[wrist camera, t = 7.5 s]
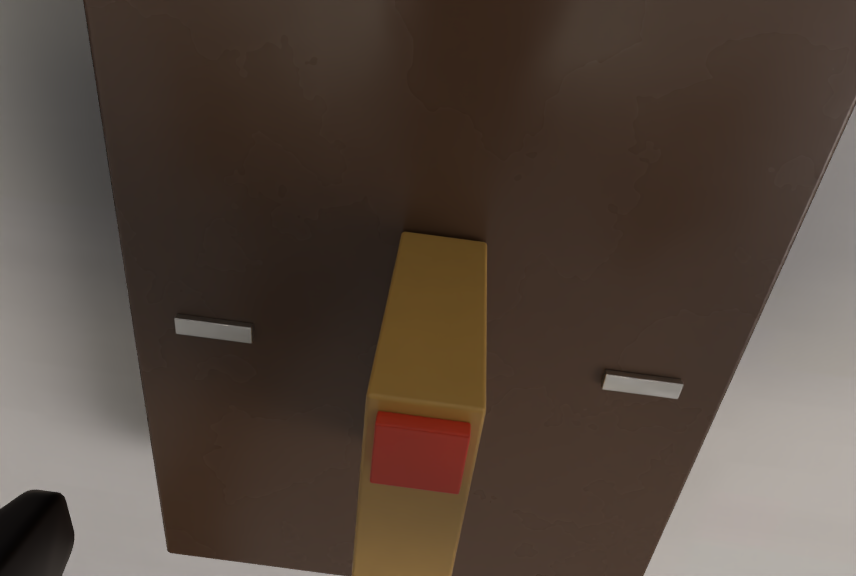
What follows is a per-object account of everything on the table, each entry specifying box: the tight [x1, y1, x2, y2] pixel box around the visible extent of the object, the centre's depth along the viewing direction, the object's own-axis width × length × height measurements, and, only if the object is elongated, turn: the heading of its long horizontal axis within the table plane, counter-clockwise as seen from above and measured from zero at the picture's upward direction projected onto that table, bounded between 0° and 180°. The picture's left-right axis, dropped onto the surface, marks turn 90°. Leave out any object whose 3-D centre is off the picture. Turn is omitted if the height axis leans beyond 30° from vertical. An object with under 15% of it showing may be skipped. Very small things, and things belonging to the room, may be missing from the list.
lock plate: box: [83, 0, 856, 576], centre depth 14 cm, size 11×14×3 cm
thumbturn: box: [351, 232, 487, 576], centre depth 11 cm, size 5×1×4 cm, turn 174°
